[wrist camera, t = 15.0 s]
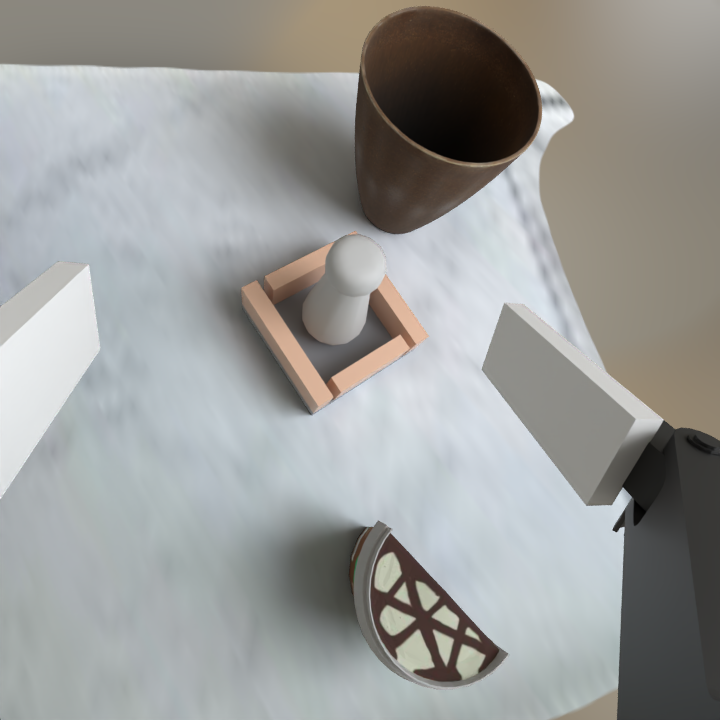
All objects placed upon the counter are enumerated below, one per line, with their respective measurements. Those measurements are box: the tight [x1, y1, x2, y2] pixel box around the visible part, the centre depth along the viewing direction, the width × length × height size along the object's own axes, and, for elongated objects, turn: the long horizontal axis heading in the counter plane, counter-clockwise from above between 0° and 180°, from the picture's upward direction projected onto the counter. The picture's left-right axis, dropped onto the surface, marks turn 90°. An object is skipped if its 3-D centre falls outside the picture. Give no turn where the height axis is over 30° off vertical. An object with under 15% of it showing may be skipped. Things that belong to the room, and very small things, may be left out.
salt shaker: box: [302, 234, 387, 345], centre depth 36 cm, size 6×6×13 cm
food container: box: [349, 521, 509, 690], centre depth 33 cm, size 12×6×10 cm, turn 45°
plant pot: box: [355, 6, 542, 234], centre depth 42 cm, size 15×15×16 cm
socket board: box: [241, 231, 429, 415], centre depth 41 cm, size 12×12×5 cm
